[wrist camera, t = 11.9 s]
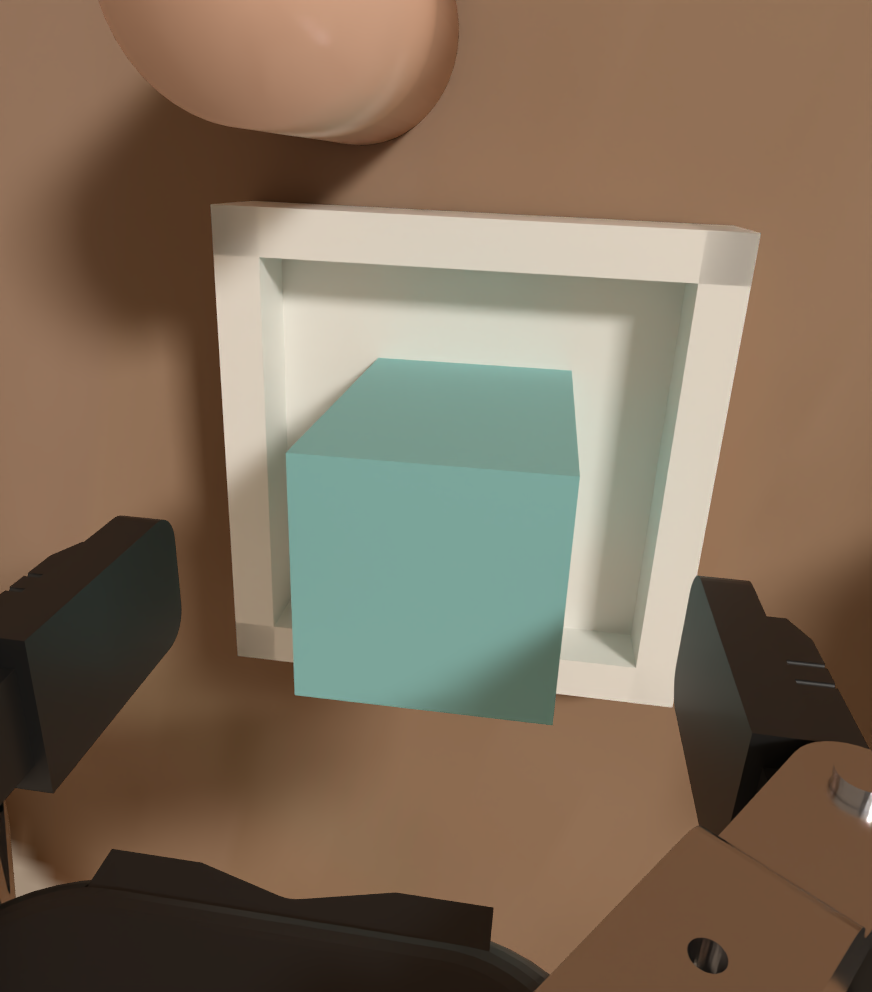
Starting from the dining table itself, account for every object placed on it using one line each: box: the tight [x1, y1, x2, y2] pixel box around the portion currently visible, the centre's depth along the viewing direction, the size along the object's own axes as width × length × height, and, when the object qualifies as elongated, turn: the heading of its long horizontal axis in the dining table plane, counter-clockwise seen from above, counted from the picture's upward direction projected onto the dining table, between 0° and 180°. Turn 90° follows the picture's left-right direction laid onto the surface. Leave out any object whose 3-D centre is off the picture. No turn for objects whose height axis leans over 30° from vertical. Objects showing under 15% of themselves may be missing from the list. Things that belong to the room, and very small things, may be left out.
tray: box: [210, 201, 761, 707], centre depth 19 cm, size 11×11×2 cm
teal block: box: [286, 358, 580, 725], centre depth 16 cm, size 4×4×7 cm
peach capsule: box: [98, 0, 459, 145], centre depth 14 cm, size 4×4×7 cm
